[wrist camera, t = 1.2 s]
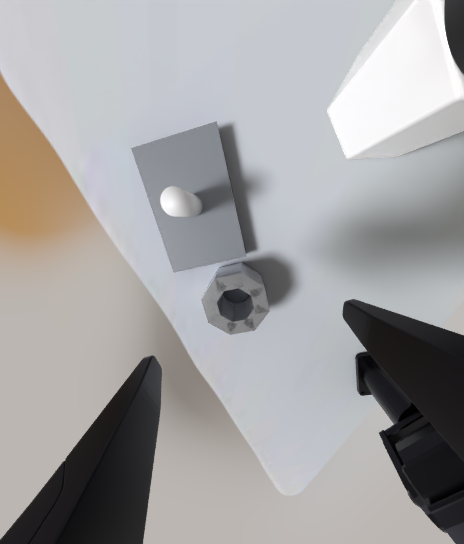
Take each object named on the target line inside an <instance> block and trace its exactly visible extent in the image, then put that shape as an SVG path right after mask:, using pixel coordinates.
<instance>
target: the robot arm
mask: <svg viewBox="0 0 464 544" xmlns="http://www.w3.org/2000/svg"><path fill="white" fill-rule="evenodd" d="M343 318H344V320H345V321H346V323H347V324H348V325H349V327H350V328H351V330H352V331H353V332H354V334H355V335H356V337H357V338H358V339H359V341H360V342H361V343H362V345H363V346H364V347H365V349H366V350H367V351H368V352H369V353H363V354H358V355H356V358H355V359H356V376H357V391H358V393H359V394H360V395H362V396H364V395H373V396H374V398H375V399H376V400H377V402H378V403H379V405H380V406H381V407H382V409H383V410H384V411H385V413H386V414H387V415H388V416H389V418H390V419H391V421H392V422H393V423H394V425H393V426H391V427H390V428H388V429H386V430H385V431H384V430H382V431H381V432H379V434H380V436H381V438H382V440H383V444H384V446H385V448H386V450H387V452H388V454H389V456H390V458H391V460H392V462H393V464H394V466H395V468H396V470H397V472H398V474H399V476H400V478H401V481H402V483H403V485H404V486H405V488H406V490H407V492H408V495H409V497H410V498H411V500H412V501H413V503H415V505H417V506H419V507H420V508H421V509H422V510H423V511H424V512H425V514H426V515H427V516H428V517H429V518H430V519H431V521H432V522H433V523H434V524H435V525H436V526H437V527H438V528H440V529H441V530H442V531H443V532H445V533H448V534H449V536H450V537H451V538H452V539H453V541H454V542H455V543H456V544H464V335H461V334H458V333H455V332H452V331H448V330H446V329H443V328H440V327H437V326H434V325H431V324H428V323H425V322H421V321H418V320H415V319H412V318H409V317H406V316H403V315H400V314H397V313H394V312H391V311H388V310H385V309H382V308H379V307H376V306H373V305H370V304H367V303H364V302H361V301H358V300H355V299H352V300H348V301H345V302H344V306H343ZM360 358H361V359H360ZM161 378H162V369H161V366H160V364H159V363H158V361H157V359H156V358H155V356H148V357H145V358H143V359H142V360H141V362H140V363H139V364H138V366H137V367H136V368H135V369H134V371H133V372H132V373H131V375H130V376H129V377H128V379H127V380H126V381H125V382H124V384H123V385H122V386H121V388H120V389H119V390H118V392H117V393H116V394H115V395H114V397H113V398H112V399H111V401H110V402H109V403H108V404H107V406H106V407H105V408H104V410H103V411H102V412H101V414H100V415H99V416H98V417H97V419H96V420H95V421H94V423H93V424H92V425H91V427H90V428H89V429H88V430H87V432H86V433H85V434H84V436H83V437H82V438H81V439H80V441H79V442H78V443H77V445H76V446H75V447H74V448H73V450H72V451H71V452H70V454H69V455H68V456H67V458H66V460H65V461H64V462H63V463H62V464H61V465H60V466H59V468H58V469H57V470H56V472H55V473H54V474H53V476H52V477H51V478H50V479H49V481H48V482H47V483H46V484H45V486H44V487H43V488H42V489H41V491H40V492H39V493H38V495H37V496H36V497H35V498H34V500H33V501H32V502H31V503H30V505H29V506H28V507H27V508H26V509H25V511H24V512H23V513H22V514H21V515H20V517H19V518H18V519H17V520H16V522H15V523H14V524H13V525H12V527H11V528H10V529H9V530H8V531H7V532H6V534H5V535H4V536H3V537H2V538H1V539H0V544H143V538H144V531H145V523H146V516H147V508H148V500H149V493H150V485H151V478H152V470H153V463H154V454H155V448H156V440H157V432H158V425H159V417H160V407H161V380H162V379H161Z"/></svg>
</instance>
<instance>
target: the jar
mask: <svg viewBox="0 0 464 544" xmlns="http://www.w3.org/2000/svg"><path fill="white" fill-rule="evenodd" d="M327 113H328V115H329V118H330V120H331V122H332V125H333V127H334V130H335V132H336V135H337V137H338V140H339V142H340V144H341V147H342V149H343V152H344V154H345V157H346V159H348V160H351V159H369V158H388V157H398V156H401V155H403V154H406V153H409V152H411V151H414V150H416V149H419V148H421V147H424V146H427V145H429V144H432V143H434V142H437V141H440V140H442V139H445V138H447V137H450V136H453V135H455V134H458V133H460V132H463V131H464V0H397V1H396V2H395V3H394V5H393V6H392V8H391V9H390V10H389V12H388V13H387V15H386V16H385V17H384V19H383V20H382V22H381V23H380V24H379V26H378V27H377V29H376V30H375V31H374V33H373V34H372V36H371V37H370V38H369V40H368V41H367V43H366V44H365V45H364V47H363V48H362V49H361V51H360V53H359V54H358V56H357V58H356V60H355V61H354V63H353V65H352V67H351V68H350V70H349V72H348V74H347V76H346V77H345V79H344V81H343V83H342V84H341V86H340V88H339V90H338V91H337V93H336V95H335V97H334V99H333V100H332V102H331V104H330V106H329V107H328V110H327Z"/></svg>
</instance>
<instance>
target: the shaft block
mask: <svg viewBox="0 0 464 544" xmlns="http://www.w3.org/2000/svg"><path fill="white" fill-rule="evenodd" d="M131 149H132V152H133V155H134V158H135V161H136V164H137V167H138V169H139V172H140V175H141V178H142V181H143V184H144V187H145V190H146V193H147V196H148V199H149V202H150V205H151V208H152V210H153V213H154V216H155V219H156V222H157V225H158V228H159V231H160V234H161V237H162V240H163V243H164V246H165V248H166V251H167V254H168V257H169V260H170V263H171V266H172V269H173V272H178V271H183V270H187V269H192V268H196V267H201V266H205V265H210V264H214V263H219V262H223V261H228V260H232V259H237V258H241V257H246V252H245V247H244V243H243V238H242V233H241V229H240V224H239V220H238V215H237V211H236V206H235V202H234V197H233V193H232V188H231V183H230V179H229V174H228V170H227V165H226V161H225V156H224V152H223V147H222V142H221V138H220V133H219V129H218V125H217V121H216V122H213V123H210V124H207V125H204V126H201V127H197V128H194V129H191V130H188V131H185V132H181V133H178V134H175V135H172V136H169V137H166V138H162V139H159V140H156V141H153V142H150V143H146V144H143V145H140V146H137V147H134V148H131Z"/></svg>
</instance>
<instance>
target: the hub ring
mask: <svg viewBox="0 0 464 544" xmlns="http://www.w3.org/2000/svg"><path fill="white" fill-rule="evenodd" d="M237 288H239V289H241V290H242V291H244V292H246V293H247V294H249V295H250V296H249V297H248V298H247V300H246V301H245V302H240V303H235V304H234V303H232V302H230V301H229V300H227V299H225V298H224V296H223V292H224V291H227V290H232V289H237ZM202 304H203V307H204V310H205V313H206V316H207V320H208V323H210V324H212V325H214V326H215V327H217V328H219V329H221V330H223V331H224V332H226V333H228V334H230V335H231V334H237V333H242V332H248V331H254V330H255V329H256V328H257V327H258V325H259V324H260V323H261V322H262V320H263V319H264V318H265V316H266V315H267V314H268V313H269V306H268V301H267V296H266V292H265V287H264V284H263V281H262V278H261V275H260V274H259V273H257V272H256V271H254V270H253V269H251V268H249V267H248V266H246V265H244V264H243V263H237V264H233V265H228V266H224V267H219V269H218V271H217V272H216V274H215V275H214V277H213V279H212V280H211V282H210V283H209V285H208V287H207V289H206V291H205V293H204V295H203V298H202Z"/></svg>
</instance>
